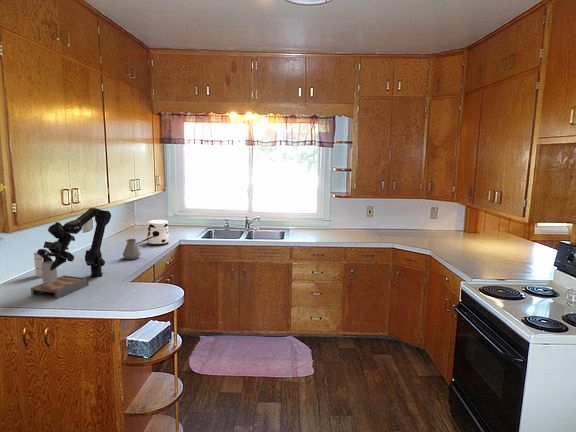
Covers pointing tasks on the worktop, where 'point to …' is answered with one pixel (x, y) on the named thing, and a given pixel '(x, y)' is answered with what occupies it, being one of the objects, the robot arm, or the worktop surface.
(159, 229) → the milk container
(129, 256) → the coffee pot
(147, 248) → the worktop surface
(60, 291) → the frame
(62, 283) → the trapdoor
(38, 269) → the syrup box
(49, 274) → the stone
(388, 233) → the worktop surface
